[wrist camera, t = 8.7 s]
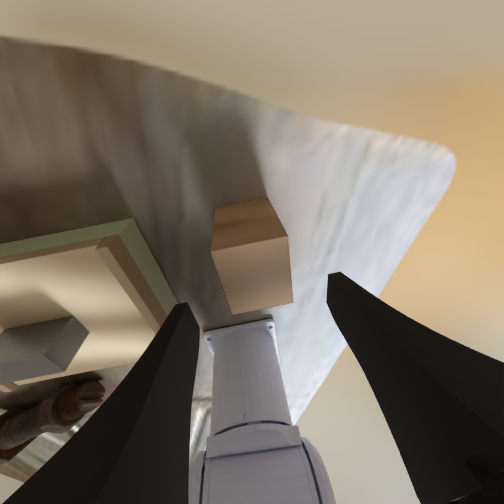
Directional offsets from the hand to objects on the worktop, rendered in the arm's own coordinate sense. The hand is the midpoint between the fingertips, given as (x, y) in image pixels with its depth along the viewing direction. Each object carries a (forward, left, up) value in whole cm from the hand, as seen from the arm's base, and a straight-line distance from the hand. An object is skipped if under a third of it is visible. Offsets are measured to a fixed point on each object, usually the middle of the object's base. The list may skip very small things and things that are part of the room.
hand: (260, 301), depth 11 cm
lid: (-3, +16, -5) cm, 17 cm away
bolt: (-19, +28, -8) cm, 35 cm away
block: (0, 0, -8) cm, 8 cm away
